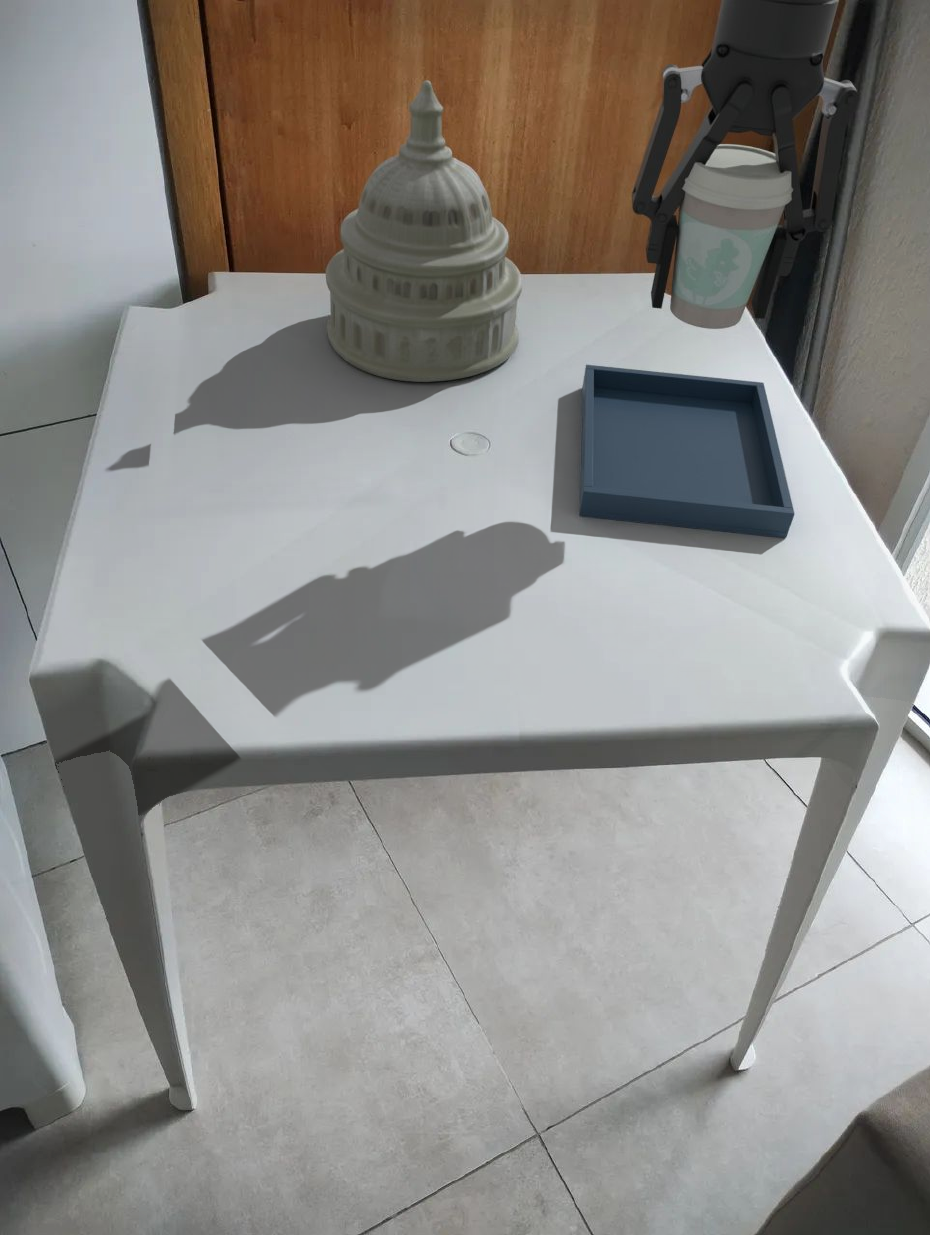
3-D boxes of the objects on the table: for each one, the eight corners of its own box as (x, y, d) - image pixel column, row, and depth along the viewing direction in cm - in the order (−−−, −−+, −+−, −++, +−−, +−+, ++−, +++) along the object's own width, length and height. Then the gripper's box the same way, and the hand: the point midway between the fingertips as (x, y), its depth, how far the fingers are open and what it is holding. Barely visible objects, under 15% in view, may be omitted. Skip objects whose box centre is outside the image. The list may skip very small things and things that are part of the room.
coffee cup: (631, 306, 82) (660, 154, 74) (697, 280, 87) (730, 133, 78) (714, 348, 78) (754, 191, 70) (778, 318, 82) (823, 167, 74)
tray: (786, 538, 85) (794, 513, 83) (579, 516, 85) (583, 491, 84) (756, 405, 101) (763, 382, 99) (582, 387, 101) (585, 364, 99)
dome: (565, 117, 84) (324, 116, 81) (534, 381, 101) (334, 388, 98) (517, 51, 99) (310, 47, 95) (497, 292, 116) (321, 296, 112)
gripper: (926, -18, 69) (825, 297, 84) (628, -45, 69) (582, 273, 85) (955, 7, 63) (841, 340, 79) (631, -22, 64) (581, 314, 79)
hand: (707, 305), depth 82 cm, fingers closed on coffee cup, 8 cm apart
